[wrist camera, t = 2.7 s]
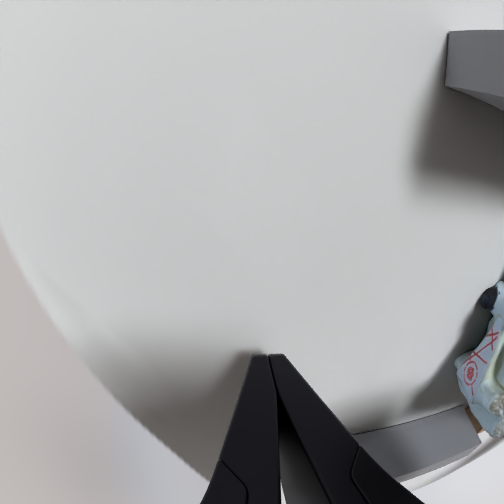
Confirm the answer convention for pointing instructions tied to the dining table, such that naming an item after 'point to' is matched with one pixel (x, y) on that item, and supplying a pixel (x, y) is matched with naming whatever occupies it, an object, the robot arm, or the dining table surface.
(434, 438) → the bay
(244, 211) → the dining table surface
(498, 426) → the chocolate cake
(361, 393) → the dining table surface
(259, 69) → the dining table surface
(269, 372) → the robot arm
